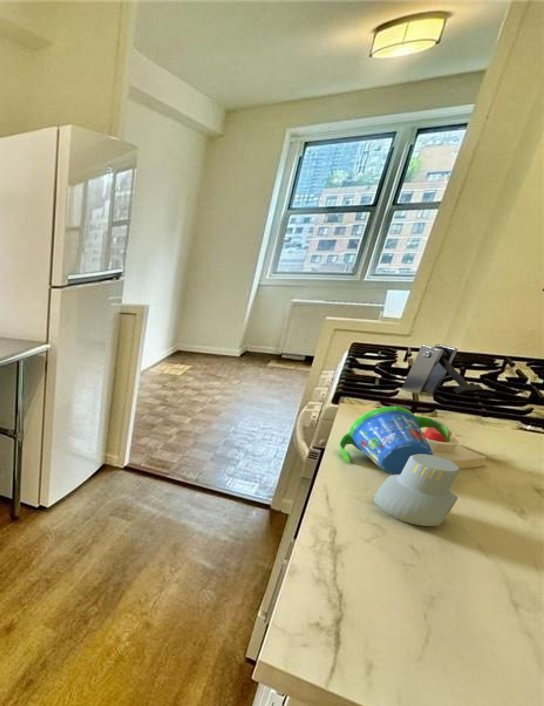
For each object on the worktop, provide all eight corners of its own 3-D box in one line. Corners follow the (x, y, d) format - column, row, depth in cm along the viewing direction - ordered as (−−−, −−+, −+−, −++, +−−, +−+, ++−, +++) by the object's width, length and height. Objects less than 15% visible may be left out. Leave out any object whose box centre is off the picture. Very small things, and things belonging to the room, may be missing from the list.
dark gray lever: (475, 394, 113) (485, 387, 111) (455, 395, 112) (465, 389, 110) (437, 352, 120) (446, 345, 118) (418, 354, 119) (427, 347, 117)
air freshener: (428, 540, 74) (461, 485, 69) (363, 514, 80) (389, 462, 75) (448, 514, 79) (480, 462, 74) (386, 492, 85) (412, 442, 80)
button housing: (480, 467, 92) (492, 449, 90) (436, 472, 91) (446, 453, 89) (417, 439, 103) (426, 422, 101) (376, 443, 101) (385, 425, 99)
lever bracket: (456, 403, 118) (483, 353, 112) (424, 406, 117) (450, 355, 111) (407, 386, 129) (430, 339, 123) (378, 388, 128) (399, 341, 121)
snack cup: (347, 455, 89) (326, 423, 97) (360, 493, 94) (339, 459, 101) (460, 423, 81) (428, 391, 89) (468, 466, 85) (437, 433, 93)
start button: (452, 442, 94) (457, 434, 93) (436, 443, 93) (441, 435, 92) (433, 433, 97) (437, 426, 96) (418, 435, 96) (422, 427, 95)
